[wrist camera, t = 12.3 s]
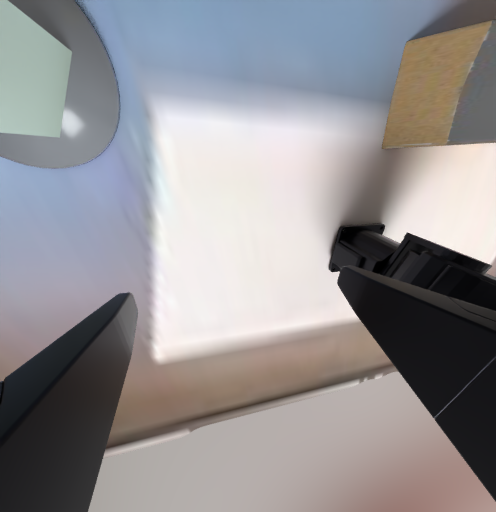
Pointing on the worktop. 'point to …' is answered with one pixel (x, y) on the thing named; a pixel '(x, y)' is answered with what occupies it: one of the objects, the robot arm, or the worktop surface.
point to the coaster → (71, 93)
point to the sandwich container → (445, 90)
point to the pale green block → (30, 76)
